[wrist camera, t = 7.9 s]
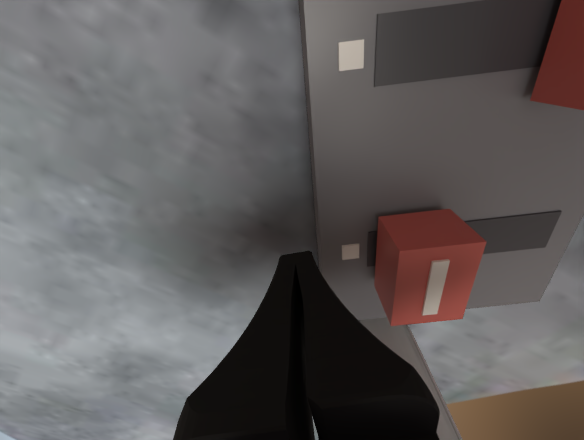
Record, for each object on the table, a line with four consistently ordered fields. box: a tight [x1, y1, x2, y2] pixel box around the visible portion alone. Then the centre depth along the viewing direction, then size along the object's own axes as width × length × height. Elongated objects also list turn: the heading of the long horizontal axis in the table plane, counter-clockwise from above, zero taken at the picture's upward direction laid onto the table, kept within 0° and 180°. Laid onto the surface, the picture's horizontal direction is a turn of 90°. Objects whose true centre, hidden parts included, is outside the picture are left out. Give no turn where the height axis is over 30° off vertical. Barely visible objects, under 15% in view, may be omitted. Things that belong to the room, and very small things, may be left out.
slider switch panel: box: [299, 0, 584, 320], centre depth 10 cm, size 12×26×2 cm, turn 6°
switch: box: [374, 209, 486, 326], centre depth 12 cm, size 3×4×2 cm
